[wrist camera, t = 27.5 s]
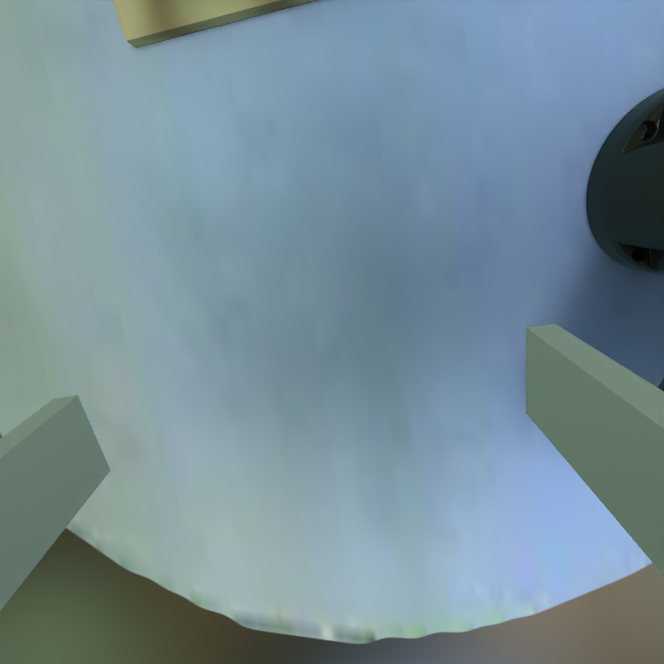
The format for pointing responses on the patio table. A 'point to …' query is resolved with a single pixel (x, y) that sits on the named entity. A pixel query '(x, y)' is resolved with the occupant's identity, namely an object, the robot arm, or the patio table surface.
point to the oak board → (186, 16)
